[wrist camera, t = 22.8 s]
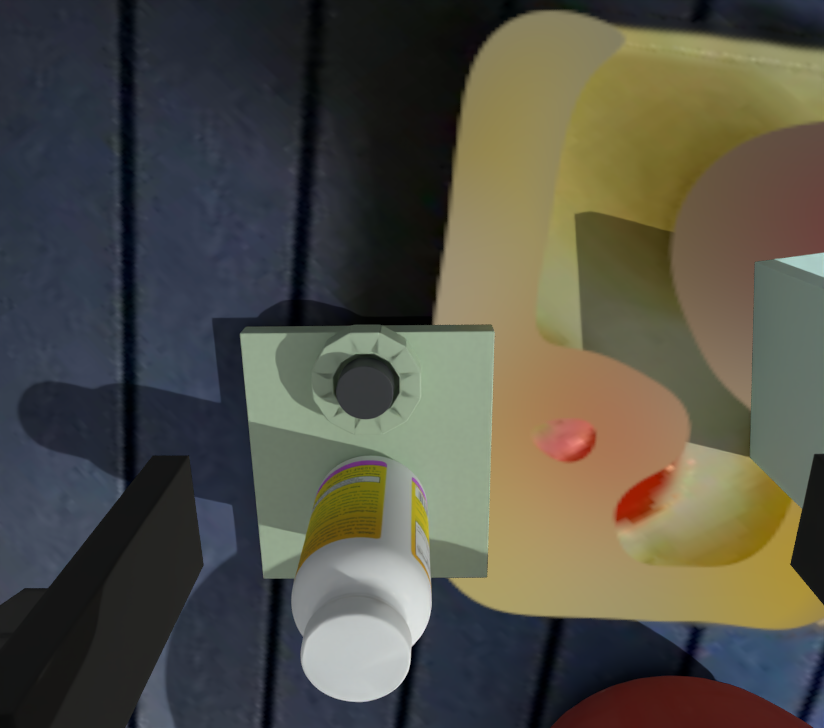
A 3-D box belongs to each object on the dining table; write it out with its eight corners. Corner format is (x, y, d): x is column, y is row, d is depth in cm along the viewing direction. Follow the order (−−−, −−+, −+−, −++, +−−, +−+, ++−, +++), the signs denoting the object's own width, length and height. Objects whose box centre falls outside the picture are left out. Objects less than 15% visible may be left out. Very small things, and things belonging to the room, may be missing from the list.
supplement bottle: (295, 512, 41) (245, 673, 29) (356, 430, 39) (330, 565, 27) (387, 567, 42) (375, 744, 30) (450, 490, 40) (465, 645, 28)
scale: (244, 318, 39) (231, 333, 36) (492, 316, 38) (498, 331, 36) (267, 565, 44) (257, 595, 41) (485, 564, 44) (489, 594, 41)
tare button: (337, 356, 36) (334, 366, 35) (393, 356, 36) (392, 365, 35) (340, 408, 37) (337, 419, 36) (394, 408, 37) (393, 419, 36)
